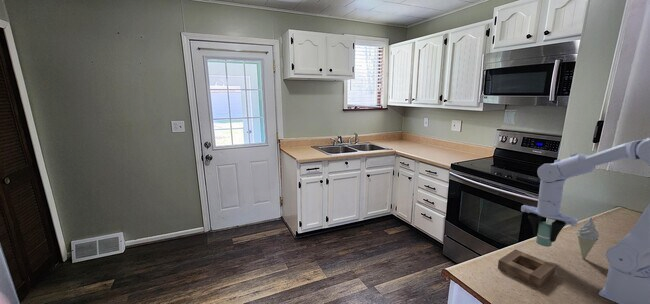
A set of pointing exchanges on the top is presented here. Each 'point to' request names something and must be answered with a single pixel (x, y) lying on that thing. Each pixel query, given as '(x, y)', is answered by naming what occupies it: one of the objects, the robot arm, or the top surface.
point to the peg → (544, 234)
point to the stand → (536, 277)
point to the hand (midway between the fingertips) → (544, 238)
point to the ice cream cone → (587, 237)
